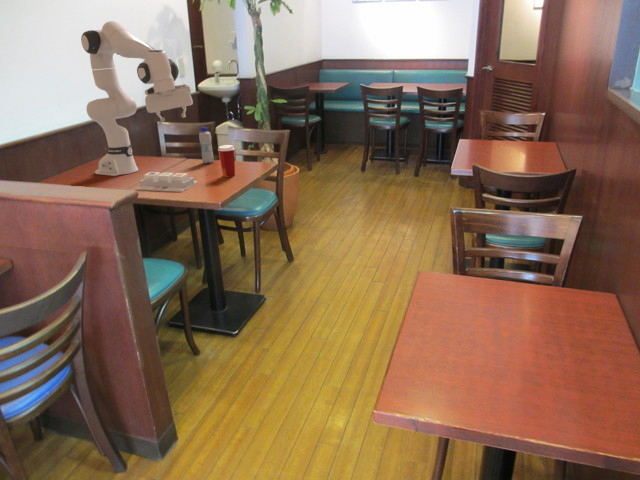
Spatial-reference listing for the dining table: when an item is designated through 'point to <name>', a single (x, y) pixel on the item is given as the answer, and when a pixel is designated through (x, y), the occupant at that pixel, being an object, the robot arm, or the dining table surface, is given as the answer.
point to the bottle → (206, 145)
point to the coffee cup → (227, 160)
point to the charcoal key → (151, 176)
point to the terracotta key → (180, 177)
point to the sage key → (165, 177)
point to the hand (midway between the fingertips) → (173, 119)
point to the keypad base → (166, 185)
